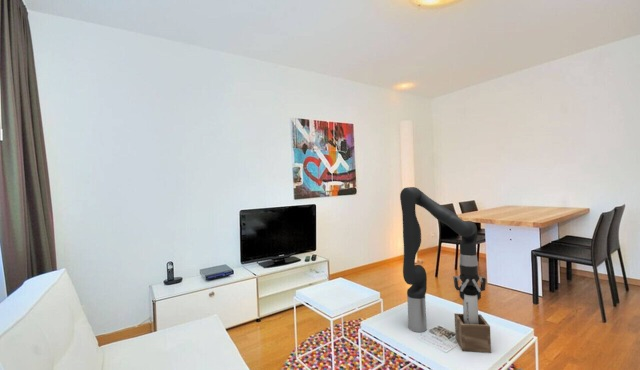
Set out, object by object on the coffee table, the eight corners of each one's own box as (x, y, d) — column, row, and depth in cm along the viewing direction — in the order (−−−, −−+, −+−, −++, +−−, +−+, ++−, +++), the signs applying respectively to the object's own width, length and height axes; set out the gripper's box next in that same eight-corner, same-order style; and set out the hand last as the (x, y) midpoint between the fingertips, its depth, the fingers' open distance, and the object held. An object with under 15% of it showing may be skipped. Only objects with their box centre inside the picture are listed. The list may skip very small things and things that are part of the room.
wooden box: (455, 337, 145) (454, 313, 146) (481, 339, 143) (480, 314, 143) (462, 351, 134) (461, 324, 134) (491, 352, 131) (490, 326, 131)
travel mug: (473, 325, 142) (472, 283, 142) (481, 331, 136) (479, 288, 136) (461, 325, 142) (459, 284, 142) (468, 332, 135) (466, 289, 136)
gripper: (482, 261, 141) (483, 296, 141) (450, 261, 144) (451, 295, 144) (488, 265, 134) (489, 302, 134) (454, 265, 136) (456, 301, 136)
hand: (470, 298), depth 139 cm, fingers closed on travel mug, 6 cm apart
